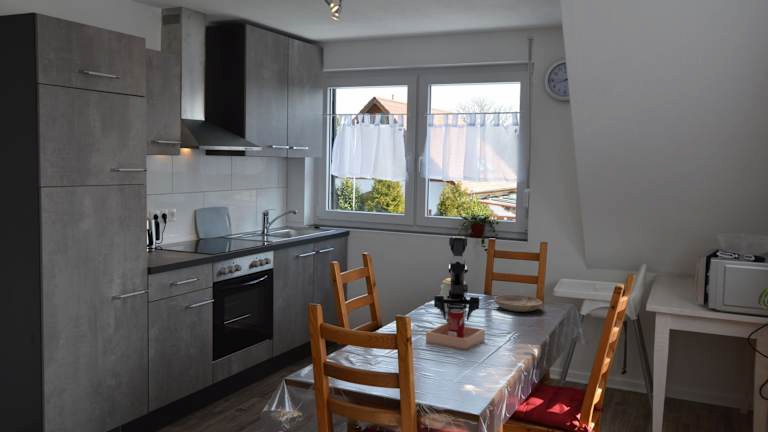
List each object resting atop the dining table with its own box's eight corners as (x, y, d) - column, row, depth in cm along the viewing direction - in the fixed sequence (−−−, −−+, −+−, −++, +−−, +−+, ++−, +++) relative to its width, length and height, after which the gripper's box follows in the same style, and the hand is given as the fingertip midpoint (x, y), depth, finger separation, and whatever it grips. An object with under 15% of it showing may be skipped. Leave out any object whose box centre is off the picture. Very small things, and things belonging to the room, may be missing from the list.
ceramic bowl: (513, 316, 328) (514, 306, 327) (484, 306, 348) (485, 296, 348) (551, 312, 338) (552, 302, 338) (521, 302, 359) (521, 292, 358)
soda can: (456, 342, 278) (457, 313, 277) (443, 338, 283) (444, 310, 282) (466, 339, 283) (468, 310, 282) (454, 335, 288) (455, 307, 287)
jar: (470, 309, 340) (472, 274, 338) (459, 314, 329) (460, 278, 327) (447, 305, 347) (448, 271, 345) (435, 310, 336) (436, 275, 334)
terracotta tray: (425, 342, 280) (426, 332, 280) (445, 333, 295) (446, 323, 295) (466, 350, 271) (466, 339, 270) (484, 340, 286) (484, 329, 286)
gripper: (435, 276, 286) (433, 308, 276) (480, 278, 284) (480, 310, 275) (434, 290, 295) (433, 322, 285) (478, 292, 293) (478, 324, 283)
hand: (456, 319), depth 282 cm, fingers open, 9 cm apart
